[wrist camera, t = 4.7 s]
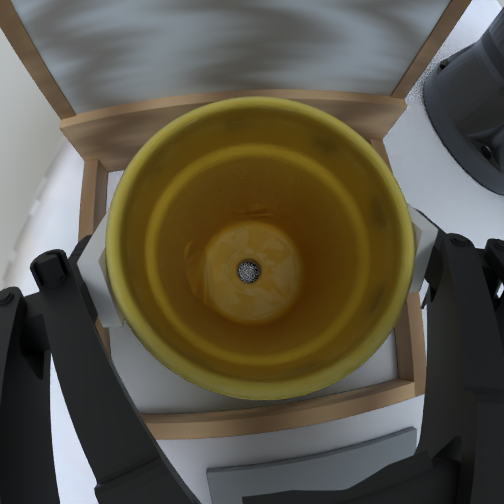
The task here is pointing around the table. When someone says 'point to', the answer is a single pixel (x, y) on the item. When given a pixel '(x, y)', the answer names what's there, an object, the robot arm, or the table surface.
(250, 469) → the mat
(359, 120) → the cold frame
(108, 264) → the plant pot
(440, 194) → the table surface
